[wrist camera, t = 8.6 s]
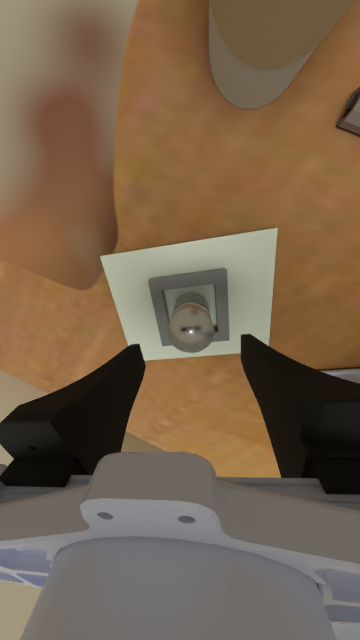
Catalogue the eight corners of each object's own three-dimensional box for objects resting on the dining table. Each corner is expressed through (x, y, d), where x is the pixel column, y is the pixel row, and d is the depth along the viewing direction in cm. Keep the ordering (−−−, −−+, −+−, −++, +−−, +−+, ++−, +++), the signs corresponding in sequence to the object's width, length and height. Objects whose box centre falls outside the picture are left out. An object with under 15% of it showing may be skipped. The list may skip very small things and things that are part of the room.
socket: (275, 227, 17) (285, 226, 15) (266, 348, 22) (273, 358, 20) (102, 255, 19) (92, 257, 17) (134, 359, 25) (129, 368, 23)
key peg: (206, 289, 19) (211, 308, 14) (210, 321, 21) (216, 350, 15) (171, 295, 20) (162, 315, 14) (178, 326, 21) (172, 355, 16)
